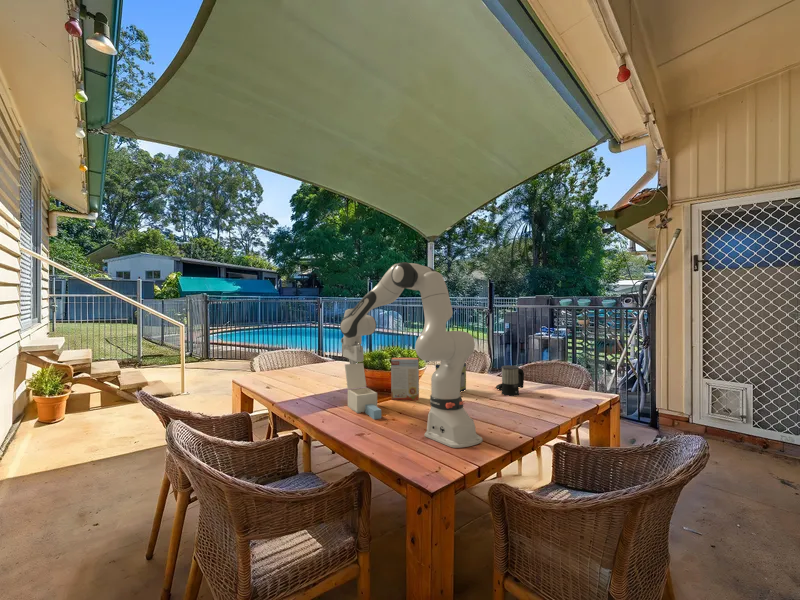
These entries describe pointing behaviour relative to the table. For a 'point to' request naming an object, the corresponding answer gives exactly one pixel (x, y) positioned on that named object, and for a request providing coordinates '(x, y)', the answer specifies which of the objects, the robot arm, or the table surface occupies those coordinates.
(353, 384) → the lid flap
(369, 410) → the blue-gray rectangular block
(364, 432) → the table surface
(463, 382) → the protein box
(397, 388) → the cracker box
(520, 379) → the milk frother
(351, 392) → the carton
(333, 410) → the table surface
